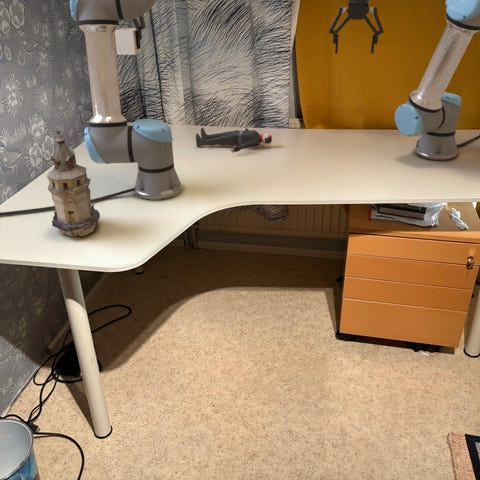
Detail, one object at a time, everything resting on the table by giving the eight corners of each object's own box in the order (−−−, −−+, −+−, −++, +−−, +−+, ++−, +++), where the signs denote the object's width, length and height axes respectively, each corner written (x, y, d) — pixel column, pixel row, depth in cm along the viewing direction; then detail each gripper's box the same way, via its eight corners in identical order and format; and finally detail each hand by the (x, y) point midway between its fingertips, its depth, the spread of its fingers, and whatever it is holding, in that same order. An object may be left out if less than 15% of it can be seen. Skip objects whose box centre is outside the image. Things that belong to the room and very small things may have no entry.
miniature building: (80, 214, 164) (63, 117, 149) (111, 225, 157) (96, 125, 142) (44, 231, 154) (22, 130, 140) (75, 244, 147) (55, 139, 133)
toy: (206, 121, 227) (276, 121, 221) (207, 135, 230) (276, 136, 224) (189, 141, 205) (266, 142, 199) (190, 156, 208) (267, 158, 202)
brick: (141, 51, 213) (139, 28, 209) (135, 54, 207) (133, 31, 202) (123, 50, 214) (121, 27, 210) (117, 54, 208) (114, 30, 203)
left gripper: (151, -18, 200) (156, 47, 211) (99, -17, 203) (107, 46, 214) (145, -16, 194) (151, 50, 205) (91, -16, 196) (100, 49, 207)
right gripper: (393, -9, 198) (386, 51, 208) (324, -9, 201) (321, 50, 211) (395, -7, 191) (388, 55, 202) (324, -7, 195) (321, 54, 205)
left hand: (128, 48), depth 209 cm, fingers closed on brick, 7 cm apart
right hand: (354, 52), depth 207 cm, fingers open, 13 cm apart
